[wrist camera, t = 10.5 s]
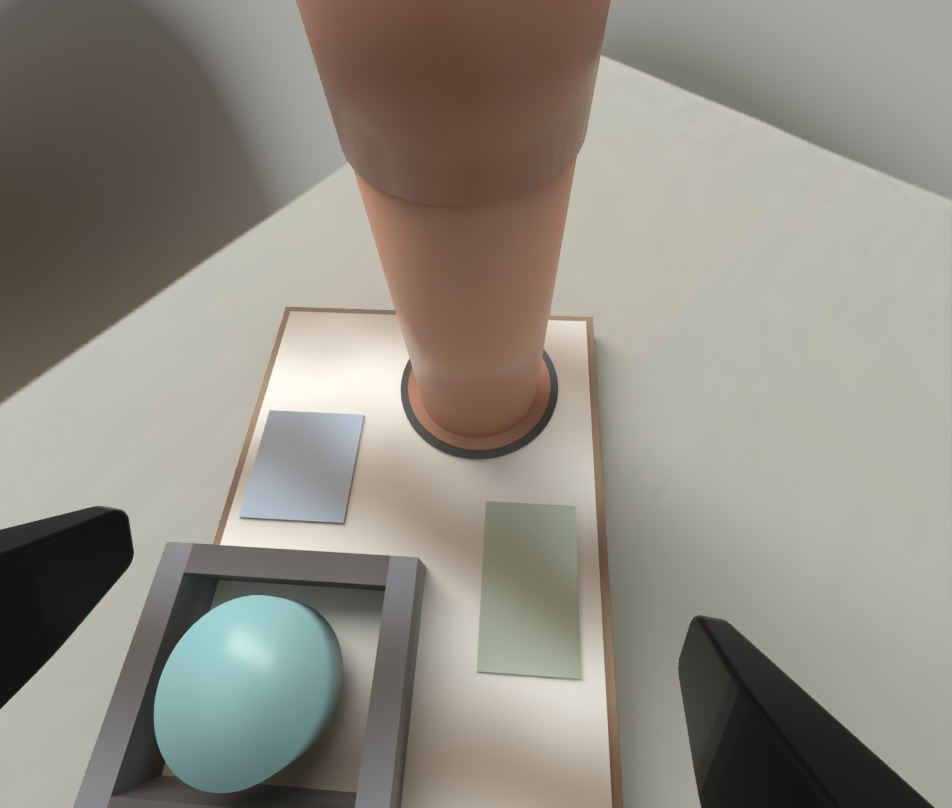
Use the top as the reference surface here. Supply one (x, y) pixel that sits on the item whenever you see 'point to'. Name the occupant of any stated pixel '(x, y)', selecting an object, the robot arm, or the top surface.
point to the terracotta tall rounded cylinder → (464, 176)
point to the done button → (247, 692)
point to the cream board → (404, 586)
